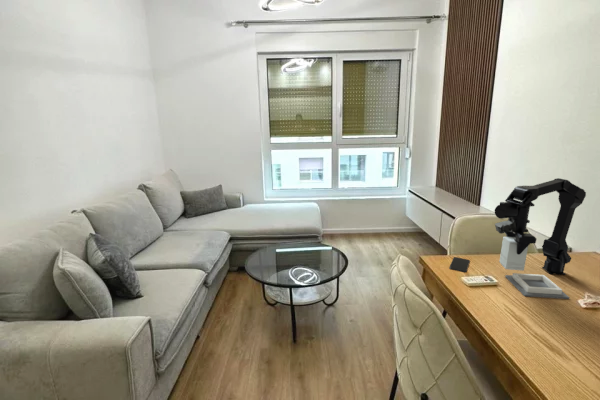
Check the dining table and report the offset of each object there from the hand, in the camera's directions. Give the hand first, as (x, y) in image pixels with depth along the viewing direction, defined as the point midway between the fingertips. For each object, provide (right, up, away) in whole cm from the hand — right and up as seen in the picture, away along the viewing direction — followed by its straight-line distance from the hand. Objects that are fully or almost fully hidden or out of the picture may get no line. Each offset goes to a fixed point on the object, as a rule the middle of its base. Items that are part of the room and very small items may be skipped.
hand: (514, 250), depth 137 cm
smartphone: (-16, -10, +16) cm, 24 cm away
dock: (+5, -14, -5) cm, 16 cm away
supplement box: (0, -7, +2) cm, 8 cm away
